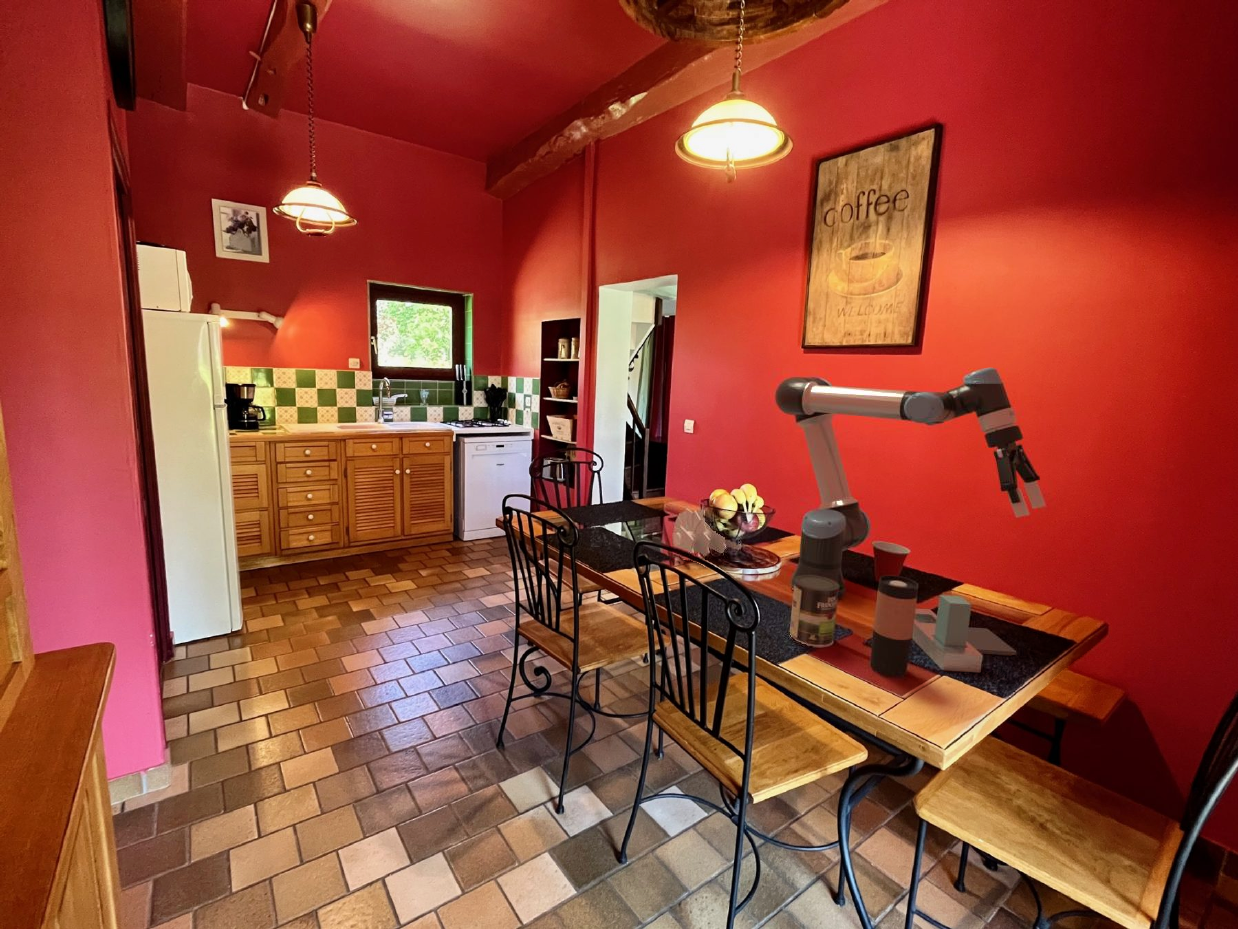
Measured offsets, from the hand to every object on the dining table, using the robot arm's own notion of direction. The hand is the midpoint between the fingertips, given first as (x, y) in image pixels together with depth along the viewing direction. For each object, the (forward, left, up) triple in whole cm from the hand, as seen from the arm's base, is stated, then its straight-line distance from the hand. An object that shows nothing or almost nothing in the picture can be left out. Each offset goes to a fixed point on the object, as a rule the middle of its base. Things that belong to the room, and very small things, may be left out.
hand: (1031, 511), depth 138 cm
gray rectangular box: (-23, -15, -32) cm, 42 cm away
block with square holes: (-23, -9, -32) cm, 40 cm away
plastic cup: (-18, +32, -32) cm, 49 cm away
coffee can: (-52, -9, -32) cm, 62 cm away
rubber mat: (-12, -6, -32) cm, 34 cm away
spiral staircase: (-72, +47, -32) cm, 92 cm away
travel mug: (-39, -22, -32) cm, 55 cm away
